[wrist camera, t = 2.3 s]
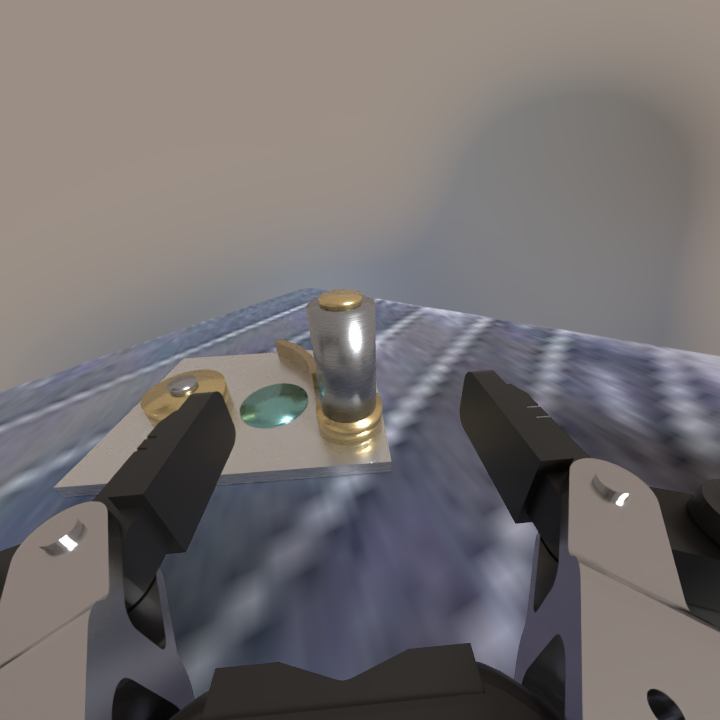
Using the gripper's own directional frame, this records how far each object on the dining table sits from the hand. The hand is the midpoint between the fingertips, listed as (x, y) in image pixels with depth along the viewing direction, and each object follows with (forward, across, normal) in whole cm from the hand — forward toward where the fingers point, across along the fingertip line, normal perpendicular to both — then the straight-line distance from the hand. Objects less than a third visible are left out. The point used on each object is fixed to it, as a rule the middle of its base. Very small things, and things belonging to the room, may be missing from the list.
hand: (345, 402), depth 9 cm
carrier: (+16, +10, +12) cm, 23 cm away
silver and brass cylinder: (+12, 0, +11) cm, 16 cm away
